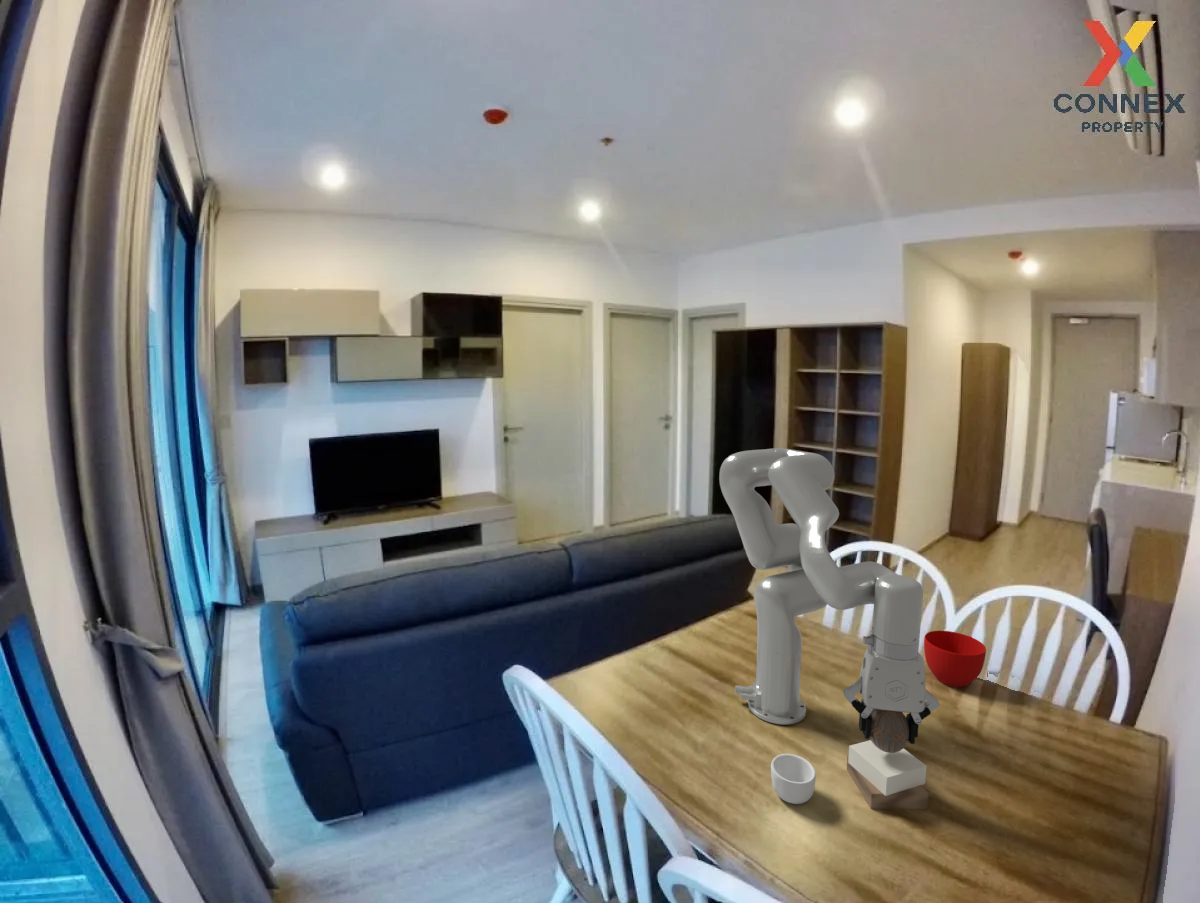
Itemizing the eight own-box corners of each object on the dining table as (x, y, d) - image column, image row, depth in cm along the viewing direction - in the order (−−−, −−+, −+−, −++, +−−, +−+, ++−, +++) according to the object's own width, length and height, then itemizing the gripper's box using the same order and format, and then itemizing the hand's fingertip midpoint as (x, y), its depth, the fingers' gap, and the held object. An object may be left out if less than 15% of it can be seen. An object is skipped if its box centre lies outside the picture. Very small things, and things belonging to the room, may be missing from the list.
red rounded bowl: (997, 677, 143) (1001, 639, 142) (969, 701, 133) (973, 661, 132) (941, 657, 154) (944, 621, 152) (911, 677, 144) (914, 640, 142)
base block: (870, 811, 101) (871, 793, 101) (846, 772, 111) (847, 755, 111) (927, 811, 101) (928, 793, 101) (898, 771, 111) (899, 755, 111)
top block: (885, 795, 100) (886, 777, 100) (848, 762, 109) (849, 745, 108) (925, 783, 103) (926, 766, 103) (885, 752, 112) (886, 735, 111)
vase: (858, 735, 108) (861, 692, 107) (893, 732, 109) (896, 690, 108) (879, 759, 102) (882, 714, 100) (916, 757, 102) (920, 712, 101)
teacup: (817, 814, 100) (819, 786, 99) (771, 807, 102) (773, 780, 101) (808, 774, 110) (810, 748, 109) (767, 769, 111) (768, 743, 111)
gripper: (847, 650, 100) (841, 744, 103) (956, 660, 97) (947, 756, 100) (838, 631, 108) (832, 719, 110) (939, 639, 104) (931, 729, 107)
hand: (887, 736), depth 105 cm, fingers closed on vase, 6 cm apart
